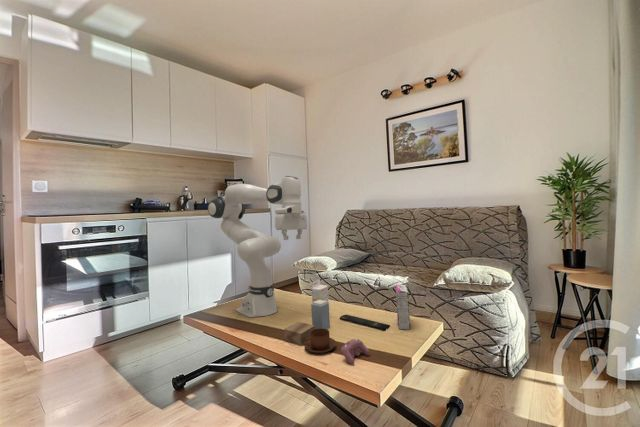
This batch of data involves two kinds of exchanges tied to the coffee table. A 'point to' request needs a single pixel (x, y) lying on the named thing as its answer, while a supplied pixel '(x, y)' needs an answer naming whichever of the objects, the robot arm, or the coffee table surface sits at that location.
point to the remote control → (365, 322)
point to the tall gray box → (320, 314)
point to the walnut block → (298, 333)
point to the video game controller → (357, 346)
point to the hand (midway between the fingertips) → (292, 239)
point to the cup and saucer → (319, 341)
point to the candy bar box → (402, 307)
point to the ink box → (319, 292)
